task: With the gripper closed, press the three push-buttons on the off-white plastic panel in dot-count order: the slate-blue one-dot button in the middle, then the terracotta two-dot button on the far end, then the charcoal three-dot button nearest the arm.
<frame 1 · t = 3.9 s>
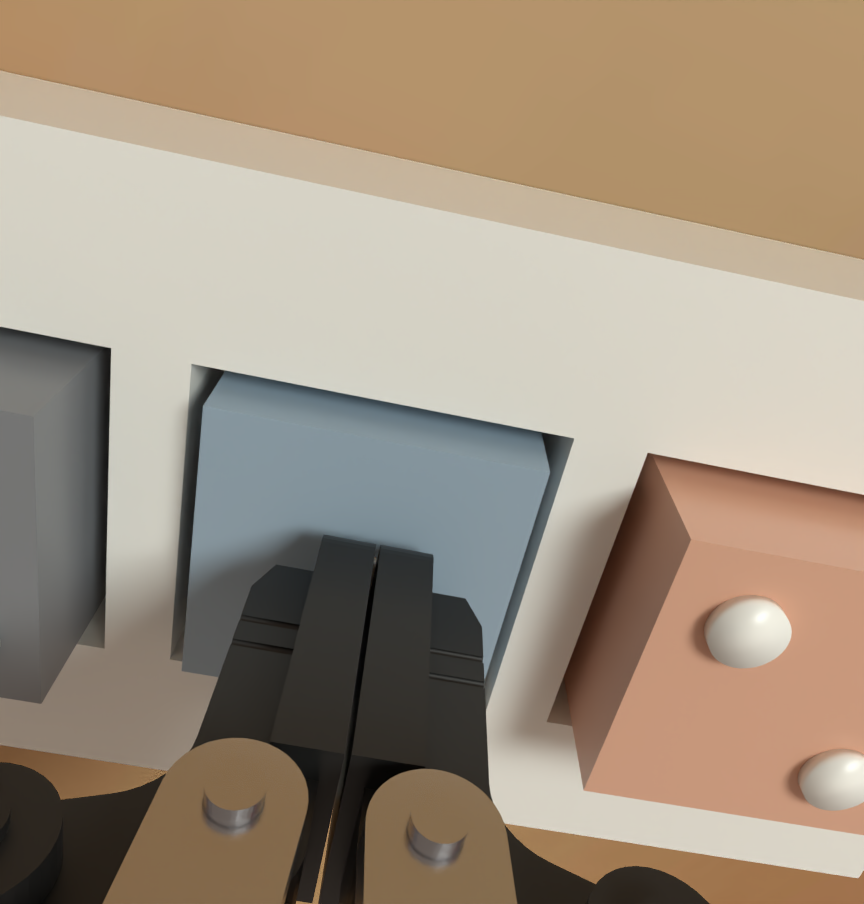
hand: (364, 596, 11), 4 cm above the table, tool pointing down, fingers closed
one-dot button: (360, 532, 12), point 2 cm above the table, slide at 1.0 cm, touching button panel, gripper
two-dot button: (762, 645, 12), point 3 cm above the table, slide at 0.0 cm
button panel: (372, 457, 14), on the table
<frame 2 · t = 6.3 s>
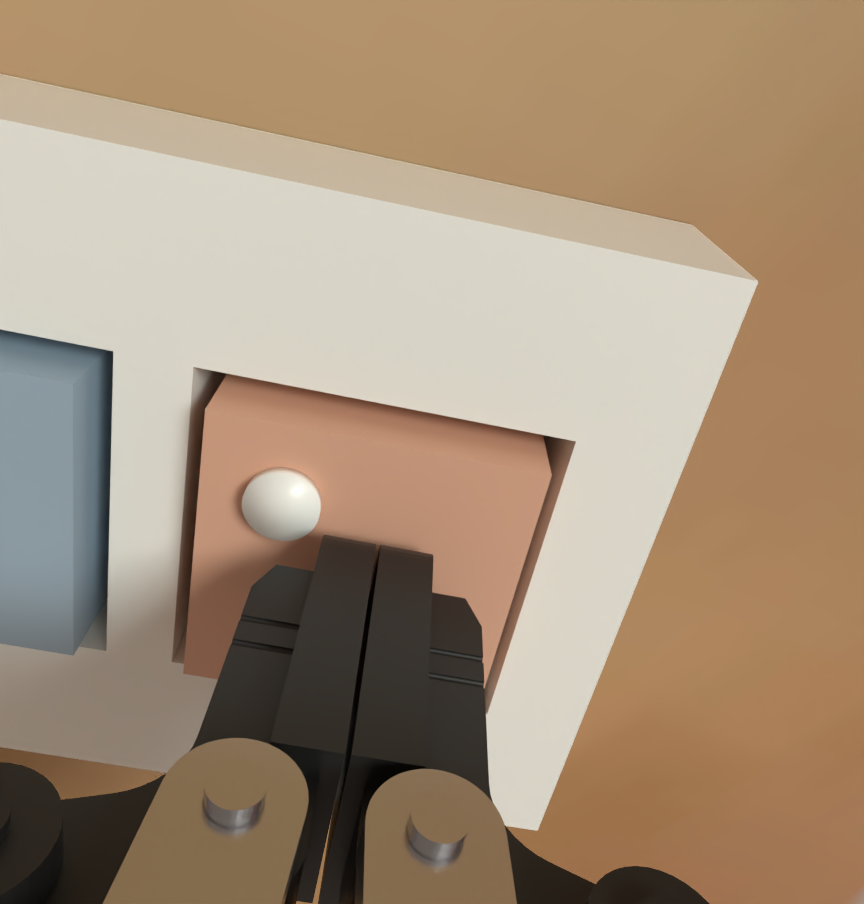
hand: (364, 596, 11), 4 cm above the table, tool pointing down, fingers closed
two-dot button: (361, 535, 12), point 2 cm above the table, slide at 1.0 cm, touching button panel, gripper
button panel: (25, 394, 14), on the table
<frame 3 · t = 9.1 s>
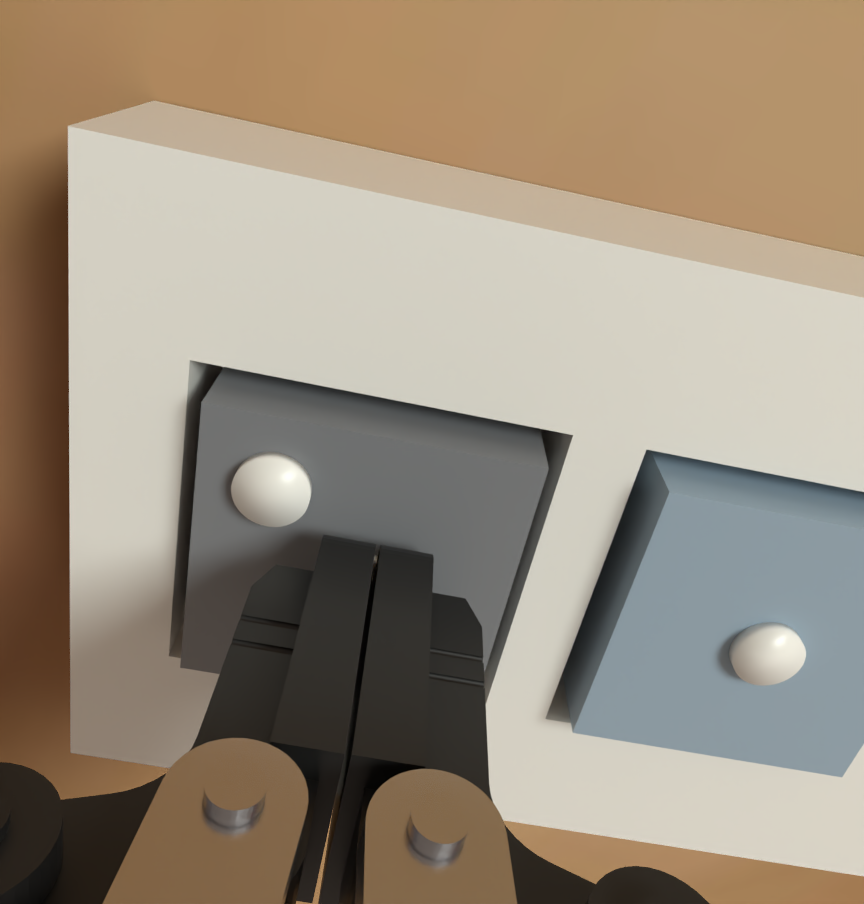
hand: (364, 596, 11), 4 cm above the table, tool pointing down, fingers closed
one-dot button: (739, 598, 13), point 2 cm above the table, slide at 1.0 cm, touching button panel
button panel: (698, 516, 15), on the table
three-dot button: (358, 529, 12), point 2 cm above the table, slide at 1.0 cm, touching button panel, gripper
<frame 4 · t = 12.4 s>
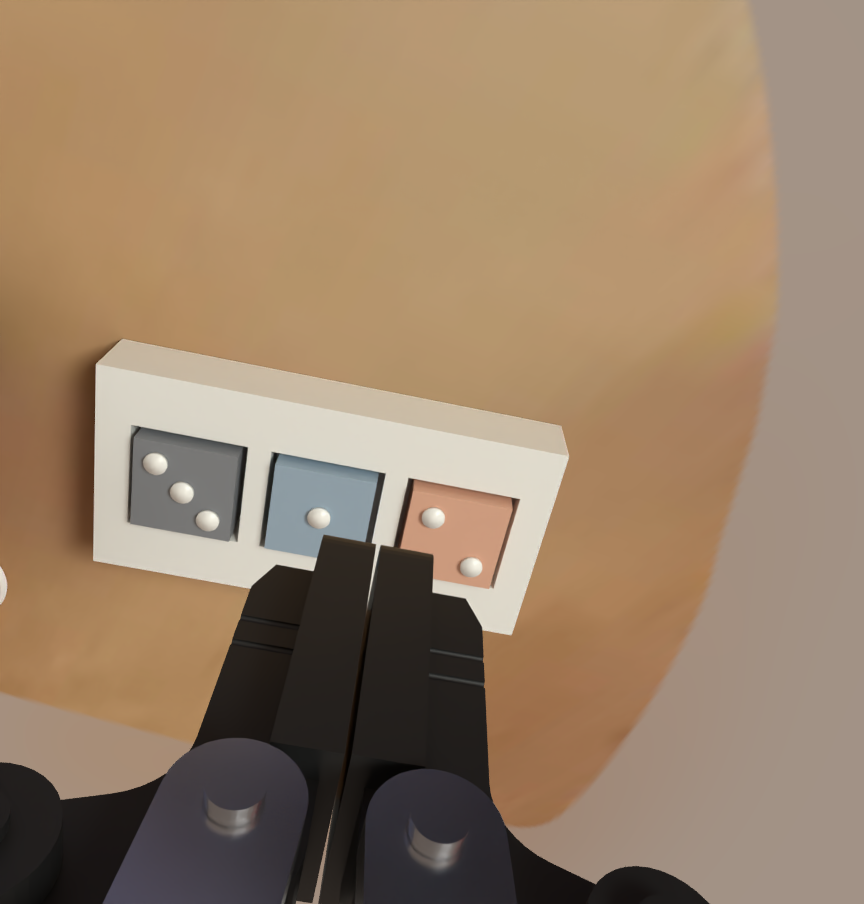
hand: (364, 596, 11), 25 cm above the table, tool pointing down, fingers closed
one-dot button: (323, 503, 37), point 2 cm above the table, slide at 1.0 cm, touching button panel
two-dot button: (452, 527, 37), point 2 cm above the table, slide at 1.0 cm, touching button panel
button panel: (330, 477, 39), on the table
three-dot button: (190, 478, 37), point 2 cm above the table, slide at 1.0 cm, touching button panel
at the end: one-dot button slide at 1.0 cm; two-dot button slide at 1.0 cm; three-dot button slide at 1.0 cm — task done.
